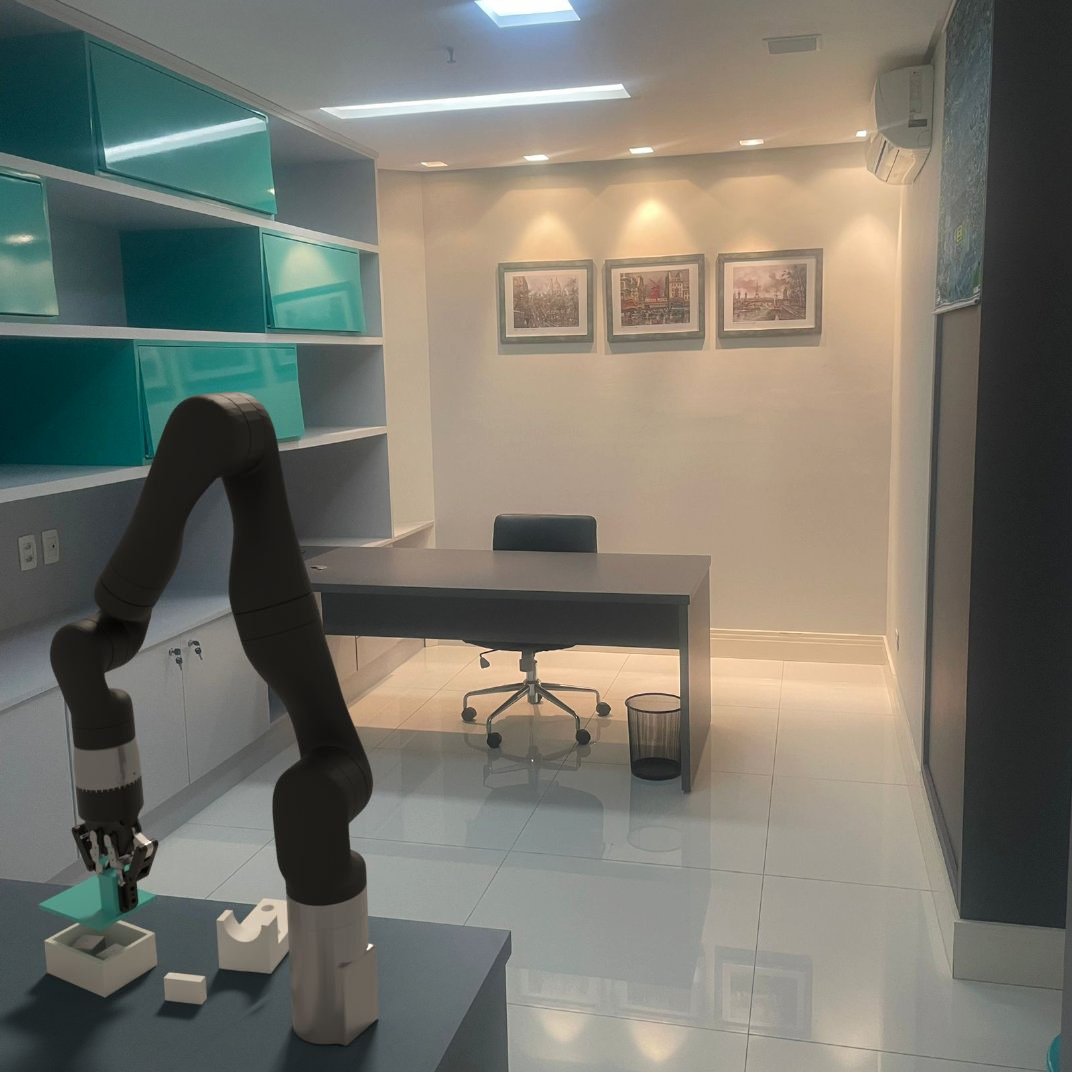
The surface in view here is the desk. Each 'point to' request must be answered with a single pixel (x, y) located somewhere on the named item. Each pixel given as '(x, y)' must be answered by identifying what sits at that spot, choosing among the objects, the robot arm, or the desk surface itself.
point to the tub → (97, 972)
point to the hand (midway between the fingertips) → (120, 906)
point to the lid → (94, 901)
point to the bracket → (254, 938)
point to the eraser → (185, 988)
